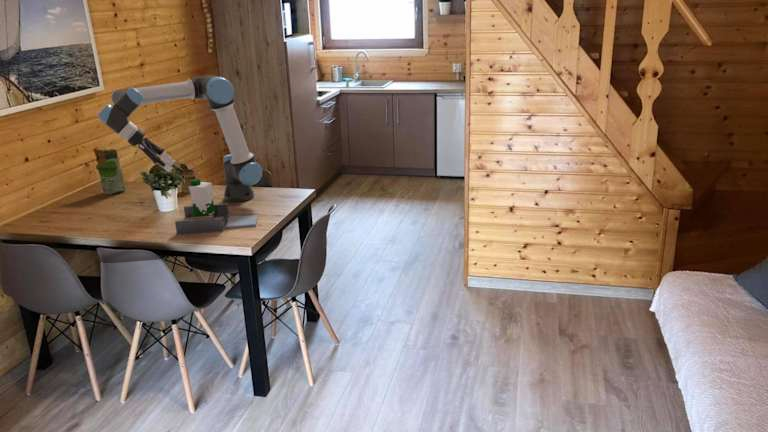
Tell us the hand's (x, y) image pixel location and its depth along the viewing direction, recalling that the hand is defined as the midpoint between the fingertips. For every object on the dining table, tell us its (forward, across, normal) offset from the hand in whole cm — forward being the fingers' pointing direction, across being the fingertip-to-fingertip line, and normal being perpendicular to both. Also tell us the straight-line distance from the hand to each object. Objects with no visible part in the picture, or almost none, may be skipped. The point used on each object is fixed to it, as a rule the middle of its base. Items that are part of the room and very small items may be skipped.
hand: (172, 166), depth 281 cm
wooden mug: (+20, -58, -18) cm, 64 cm away
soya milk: (+28, -1, -10) cm, 30 cm away
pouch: (-7, -68, -47) cm, 83 cm away
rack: (+27, +3, -11) cm, 29 cm away
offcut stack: (+27, +8, -11) cm, 30 cm away
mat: (+39, +6, +2) cm, 39 cm away
